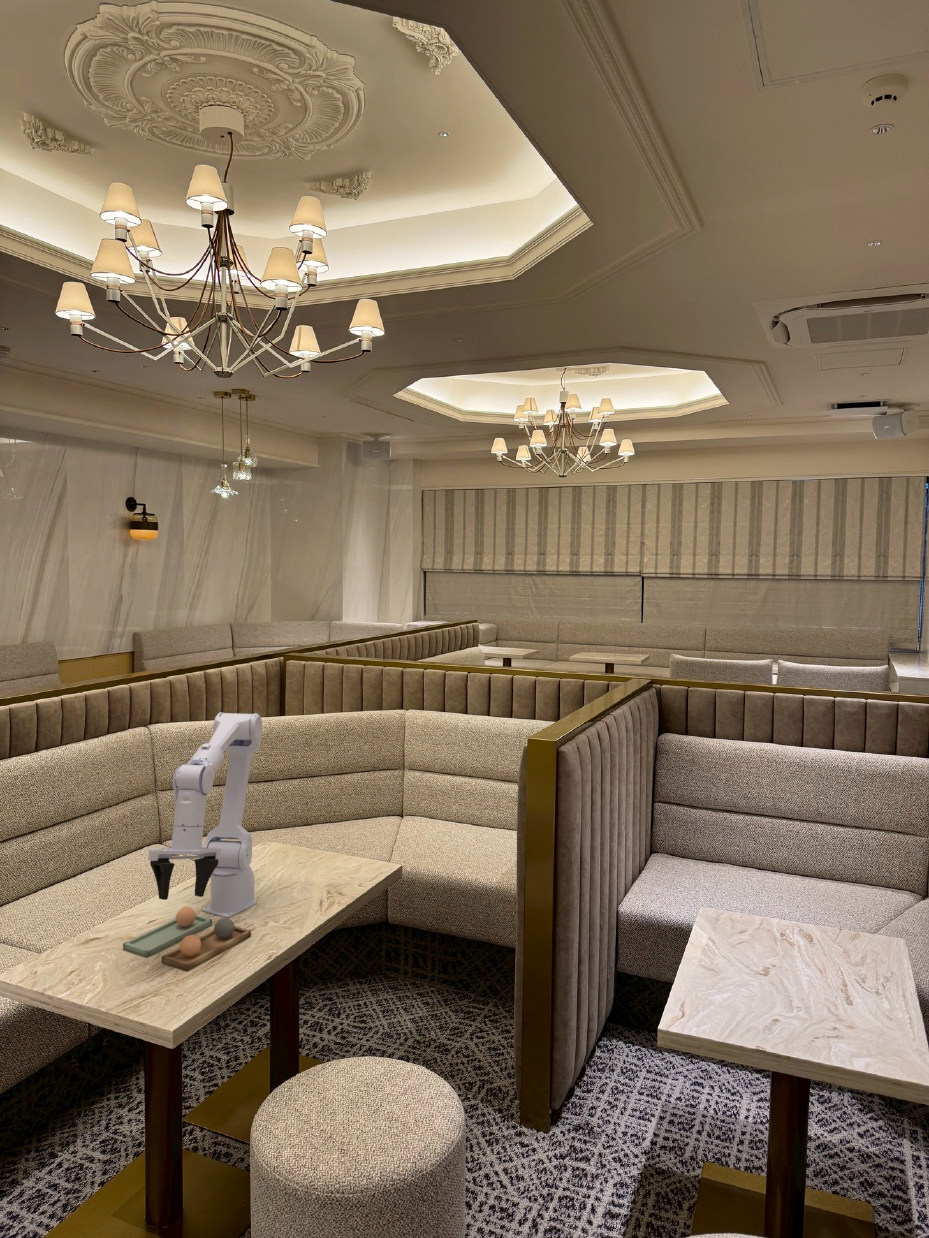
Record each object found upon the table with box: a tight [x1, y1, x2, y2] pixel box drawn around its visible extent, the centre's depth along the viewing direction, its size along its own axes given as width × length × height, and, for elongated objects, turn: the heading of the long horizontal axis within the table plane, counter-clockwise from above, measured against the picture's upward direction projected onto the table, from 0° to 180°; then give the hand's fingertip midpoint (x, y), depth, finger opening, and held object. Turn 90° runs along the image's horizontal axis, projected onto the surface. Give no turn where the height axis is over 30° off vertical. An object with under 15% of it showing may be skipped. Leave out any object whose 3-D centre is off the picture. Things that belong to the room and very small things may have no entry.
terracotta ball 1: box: [175, 906, 197, 927], centre depth 171 cm, size 4×4×4 cm
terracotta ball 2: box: [179, 934, 201, 957], centre depth 158 cm, size 4×4×4 cm
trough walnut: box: [161, 925, 252, 972], centre depth 162 cm, size 17×7×1 cm, turn 152°
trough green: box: [122, 914, 213, 958], centre depth 168 cm, size 17×7×1 cm, turn 152°
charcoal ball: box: [213, 917, 235, 939], centre depth 166 cm, size 4×4×4 cm
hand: (181, 897), depth 158 cm, fingers open, 7 cm apart
